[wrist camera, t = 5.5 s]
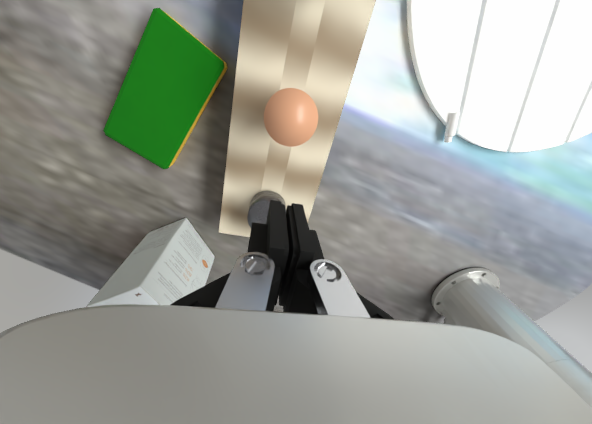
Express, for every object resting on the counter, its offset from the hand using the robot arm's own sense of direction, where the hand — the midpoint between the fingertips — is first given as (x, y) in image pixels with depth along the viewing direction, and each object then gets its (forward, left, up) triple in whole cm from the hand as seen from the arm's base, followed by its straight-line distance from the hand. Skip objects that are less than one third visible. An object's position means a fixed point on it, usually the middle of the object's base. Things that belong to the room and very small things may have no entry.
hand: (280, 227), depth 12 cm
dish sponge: (+2, +13, -20) cm, 24 cm away
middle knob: (+4, 0, -16) cm, 17 cm away
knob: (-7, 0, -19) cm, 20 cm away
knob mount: (+4, 0, -20) cm, 20 cm away
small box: (-18, +11, -20) cm, 29 cm away
